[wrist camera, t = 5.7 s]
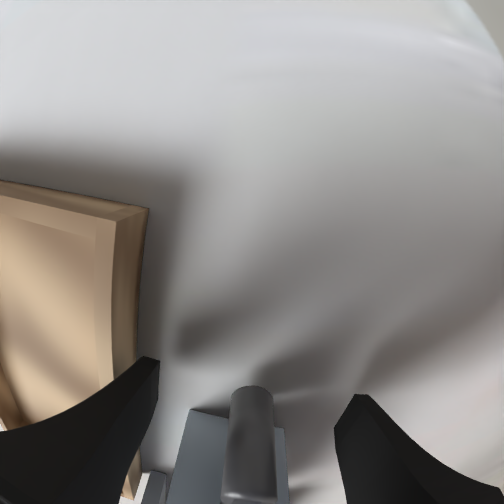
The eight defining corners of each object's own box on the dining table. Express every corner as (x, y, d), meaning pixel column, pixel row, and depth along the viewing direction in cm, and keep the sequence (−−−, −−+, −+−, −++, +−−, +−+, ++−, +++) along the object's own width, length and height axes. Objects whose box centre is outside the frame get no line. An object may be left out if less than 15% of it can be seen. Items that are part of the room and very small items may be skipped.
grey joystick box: (245, 485, 14) (242, 559, 8) (175, 471, 13) (158, 544, 8) (310, 379, 11) (335, 499, 5) (202, 356, 11) (169, 481, 5)
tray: (142, 473, 14) (133, 500, 11) (22, 417, 13) (7, 436, 11) (148, 208, 9) (116, 221, 7) (-22, 176, 9) (-57, 182, 6)
